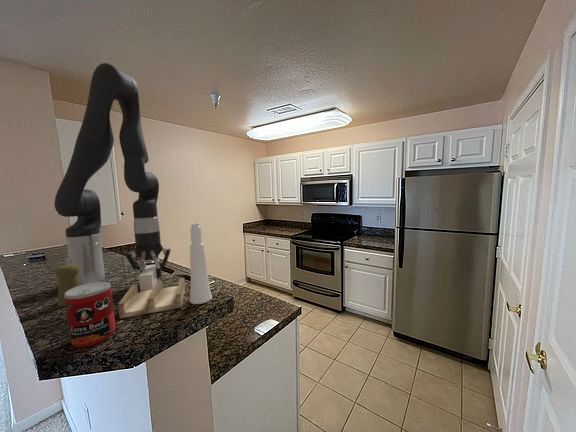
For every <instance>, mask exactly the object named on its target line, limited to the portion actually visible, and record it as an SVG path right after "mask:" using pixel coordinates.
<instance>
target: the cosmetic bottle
mask: <svg viewBox="0 0 576 432" xmlns="http://www.w3.org/2000/svg"><path fill="white" fill-rule="evenodd" d="M189 229H190V230H189V231H190V241H191V242H190V243H191V244H190V245H189V259H190V261H189V262H190V296H189V303H190V304H193V305H201V304H205V303H208V302H210V301H211V300H212V299H213V296H212V291H211V286H210V280H209V275H208V268H207V259H206V251H205V245H204V243H203V240H202V238H203V237H202V226H201V224H200V222H194V223H190V228H189Z"/></svg>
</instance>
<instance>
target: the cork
mask: <svg viewBox="0 0 576 432" xmlns="http://www.w3.org/2000/svg"><path fill="white" fill-rule="evenodd" d="M78 273H79V266H78V265H76V264H68V265H67V264H64V265H61V266H59V267H57V268H56V270H55V276H56V277H57V278H58V291H57V292H58V293H57V306H58V307H65V298H64V296H65V295H64V294H65V292H67V291H68V290H70V289H72V288H74V287H77V286H80V285H81V284H80V281H79V278H78Z"/></svg>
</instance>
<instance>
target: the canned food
mask: <svg viewBox="0 0 576 432" xmlns="http://www.w3.org/2000/svg"><path fill="white" fill-rule="evenodd" d="M112 293H113V292H112V286H111V282H109V281H101V282H93V283H88V284H84V285H80V286H77V287H74V288H72V289H70V290H68V291H67V292H65V294H64V295H65V296H64V298H65V306H64V307H65V313H66V318H67V319H66V320H67V326H68V332H69V333H68V334H69V340H70V343H71V345H72V346H73V347H75V348H85V347H90V346H93V345H96V344H99V343H101V342H103V341H105V340H107V339H108V338H110V337H111V336H112V335H113V334H114V333H115V330H116V320H115V310H114V302H113V294H112Z"/></svg>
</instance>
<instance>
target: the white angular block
mask: <svg viewBox="0 0 576 432" xmlns="http://www.w3.org/2000/svg"><path fill="white" fill-rule="evenodd" d="M138 281H139V289H140V291H139V292H141V291H148V290H152V289H153V287H154V285H155V283H156V281H159V279H157V275H156V266H155V264H148V265H145V269H144V270H143V271H142V273H140V274H139V275H138Z"/></svg>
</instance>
